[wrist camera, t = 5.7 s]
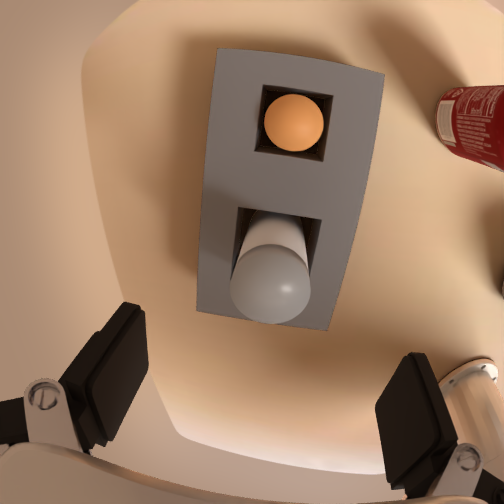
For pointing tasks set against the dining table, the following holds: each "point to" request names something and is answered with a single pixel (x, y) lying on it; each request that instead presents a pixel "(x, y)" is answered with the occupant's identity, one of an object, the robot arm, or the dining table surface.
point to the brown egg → (293, 122)
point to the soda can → (473, 123)
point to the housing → (285, 171)
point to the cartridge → (272, 269)
